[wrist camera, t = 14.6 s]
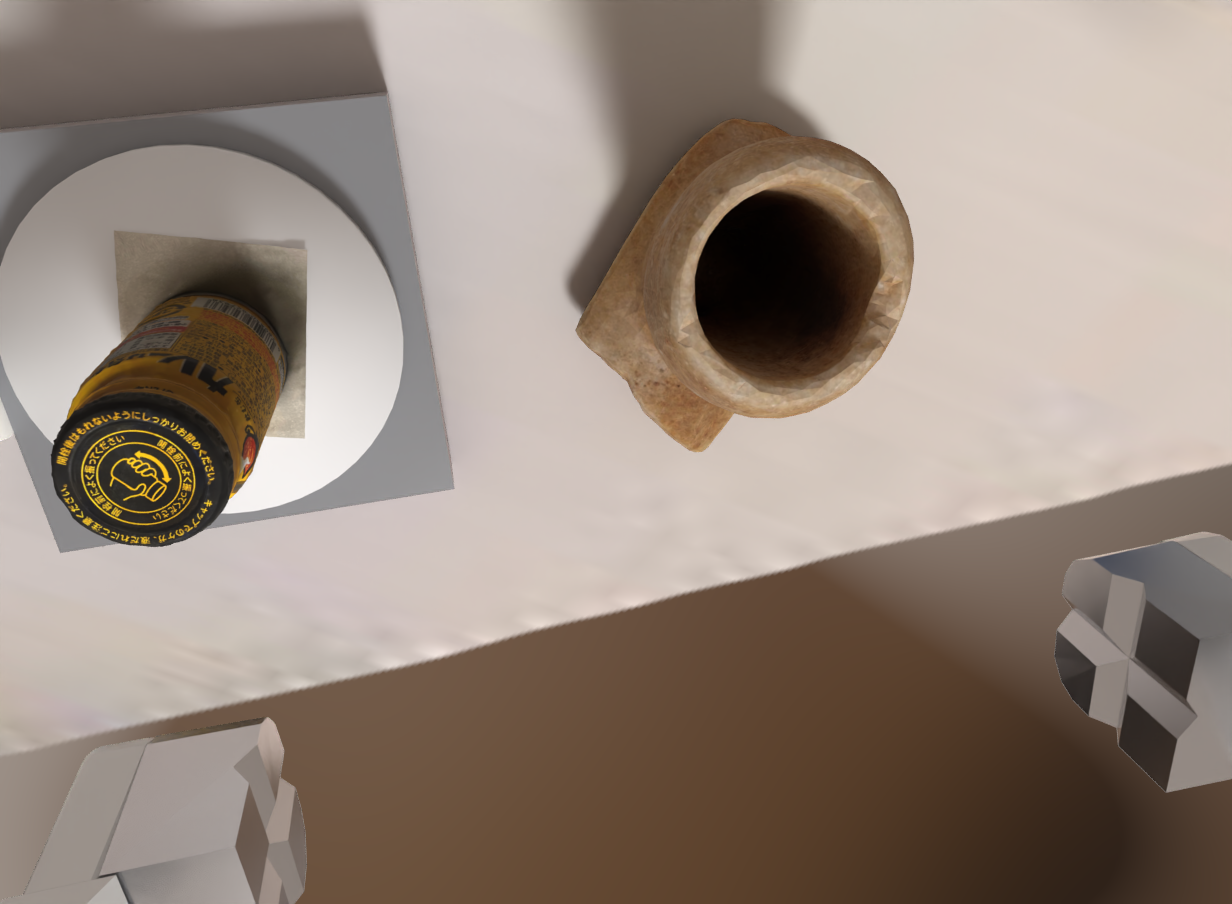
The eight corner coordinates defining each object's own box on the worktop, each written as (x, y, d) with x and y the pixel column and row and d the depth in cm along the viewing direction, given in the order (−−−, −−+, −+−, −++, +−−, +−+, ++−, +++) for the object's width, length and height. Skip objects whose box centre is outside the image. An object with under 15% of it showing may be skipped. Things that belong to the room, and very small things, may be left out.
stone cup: (688, 55, 42) (819, 63, 29) (868, 203, 47) (1053, 270, 34) (506, 327, 46) (548, 447, 32) (691, 441, 50) (795, 588, 37)
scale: (-95, 138, 37) (-182, 155, 32) (387, 91, 40) (384, 100, 35) (54, 526, 45) (5, 595, 40) (451, 463, 48) (457, 519, 42)
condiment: (127, 427, 40) (25, 571, 29) (114, 229, 37) (-5, 309, 26) (305, 436, 42) (271, 575, 31) (308, 248, 38) (271, 329, 28)
